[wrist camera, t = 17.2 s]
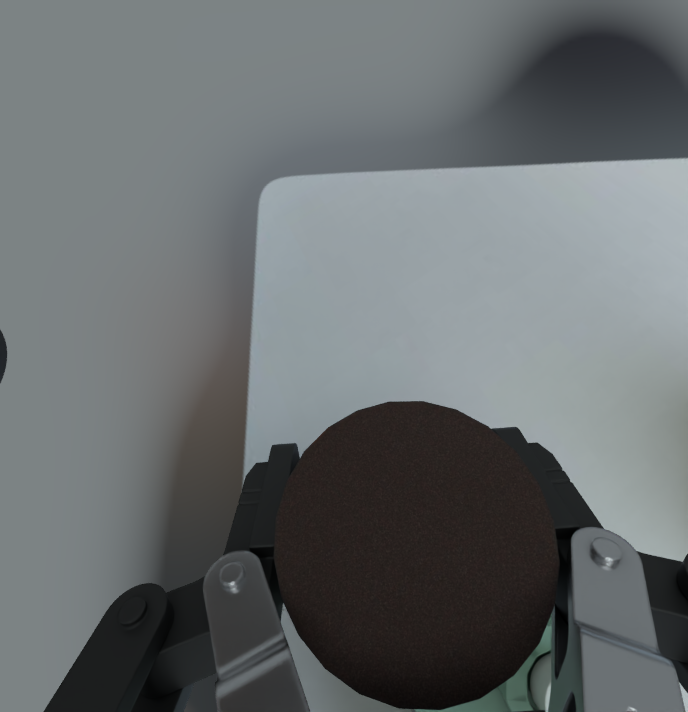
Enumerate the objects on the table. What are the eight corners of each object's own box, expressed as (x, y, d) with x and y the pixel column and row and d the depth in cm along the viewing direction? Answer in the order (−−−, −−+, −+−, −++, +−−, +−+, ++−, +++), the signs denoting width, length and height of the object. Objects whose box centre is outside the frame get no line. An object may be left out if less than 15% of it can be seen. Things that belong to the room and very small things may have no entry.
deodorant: (343, 438, 24) (298, 386, 9) (443, 451, 23) (557, 417, 9) (329, 544, 22) (248, 677, 8) (436, 562, 21) (562, 741, 7)
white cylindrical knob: (550, 738, 22) (568, 765, 20) (517, 667, 23) (532, 686, 21) (607, 710, 22) (630, 733, 20) (571, 641, 23) (590, 657, 21)
